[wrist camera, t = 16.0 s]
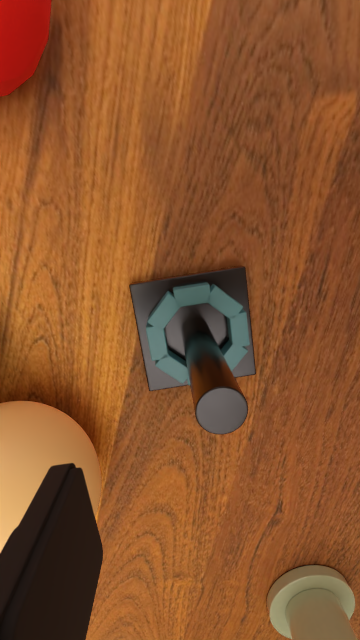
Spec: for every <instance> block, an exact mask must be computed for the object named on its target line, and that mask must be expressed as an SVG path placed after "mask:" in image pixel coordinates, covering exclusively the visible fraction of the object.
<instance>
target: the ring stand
mask: <svg viewBox="0 0 360 640" xmlns="http://www.w3.org/2000/svg"><path fill="white" fill-rule="evenodd" d="M354 608H355V597H354V594H353V592H352V590H351V588H350V586H349V584H348V582H347V580H346V579H345V578H344V576H342V575H341V574H340V573H339V572H338V571H336V570H334V569H332V568H329V567H326V566H321V565H308V566H302V567H299V568H295V569H293V570H291V571H289V572H287V573H285V574H284V575H282V576H281V577H280V578H279V579H278V580H277V581H276V582H275V583H274V584H273V585H272V587H271V589H270V591H269V593H268V596H267V610H268V613H269V617H270V620H271V623H272V625H273V626H274V628H275V629H276V630H277V631H278V632H279V633H280V634H282V635H283V636H285V637H287V638H289V639H293V640H359V639H358V637H357V635H356V633H355V631H354V629H353V627H352V625H351V623H350V621H349V620H350V618H351V616H352V614H353V612H354Z"/></svg>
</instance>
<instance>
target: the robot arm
mask: <svg viewBox="0 0 360 640" xmlns="http://www.w3.org/2000/svg"><path fill="white" fill-rule="evenodd" d="M102 559H103V548H102V543H101V539H100V535H99V531H98V527H97V524H96V520H95V516H94V512H93V508H92V504H91V500H90V496H89V492H88V489H87V485H86V481H85V477H84V473H83V470H82V468H80V467H79V468H76V466H75V464H74V463H67V464H61V465H54V466H51V467H50V468H49V470H48V472H47V474H46V476H45V477H44V479H43V481H42V483H41V485H40V487H39V488H38V490H37V492H36V494H35V496H34V498H33V500H32V501H31V503H30V505H29V507H28V509H27V511H26V512H25V514H24V516H23V518H22V520H21V522H20V524H19V525H18V527H16V528H15V529H14V530H13V532H12V533H11V535H10V536H9V538H8V540H7V542H6V544H5V545H4V547H3V549H2V551H1V553H0V640H85V639H86V635H87V630H88V625H89V621H90V616H91V611H92V607H93V602H94V598H95V593H96V588H97V584H98V579H99V574H100V570H101V565H102Z"/></svg>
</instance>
